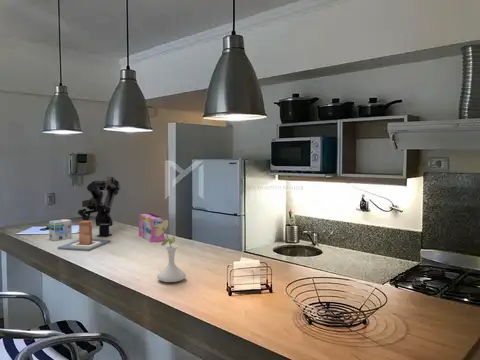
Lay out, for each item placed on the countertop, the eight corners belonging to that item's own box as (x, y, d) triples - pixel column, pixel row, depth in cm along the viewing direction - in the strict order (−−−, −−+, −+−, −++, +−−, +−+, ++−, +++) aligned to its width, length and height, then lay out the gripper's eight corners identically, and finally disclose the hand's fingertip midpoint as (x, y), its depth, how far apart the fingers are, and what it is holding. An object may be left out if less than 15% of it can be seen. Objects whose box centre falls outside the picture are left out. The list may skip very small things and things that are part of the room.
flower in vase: (172, 274, 169) (172, 215, 167) (191, 279, 162) (192, 218, 160) (147, 281, 159) (147, 219, 157) (166, 288, 152) (166, 222, 150)
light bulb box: (54, 241, 228) (54, 222, 227) (48, 239, 232) (48, 221, 231) (72, 238, 236) (72, 220, 236) (66, 236, 240) (66, 218, 240)
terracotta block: (83, 244, 216) (82, 220, 215) (92, 244, 216) (92, 220, 215) (79, 246, 211) (79, 222, 210) (88, 246, 211) (88, 222, 210)
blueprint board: (81, 240, 231) (81, 236, 231) (110, 241, 227) (110, 238, 227) (57, 249, 209) (57, 245, 209) (89, 251, 206) (89, 246, 206)
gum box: (137, 235, 248) (137, 213, 247) (149, 233, 252) (149, 212, 252) (151, 242, 228) (151, 218, 227) (164, 240, 232) (164, 217, 231)
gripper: (74, 196, 227) (67, 221, 219) (100, 190, 221) (94, 216, 213) (87, 204, 236) (81, 229, 228) (113, 199, 229) (108, 224, 221)
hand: (91, 224), depth 222 cm, fingers open, 9 cm apart
